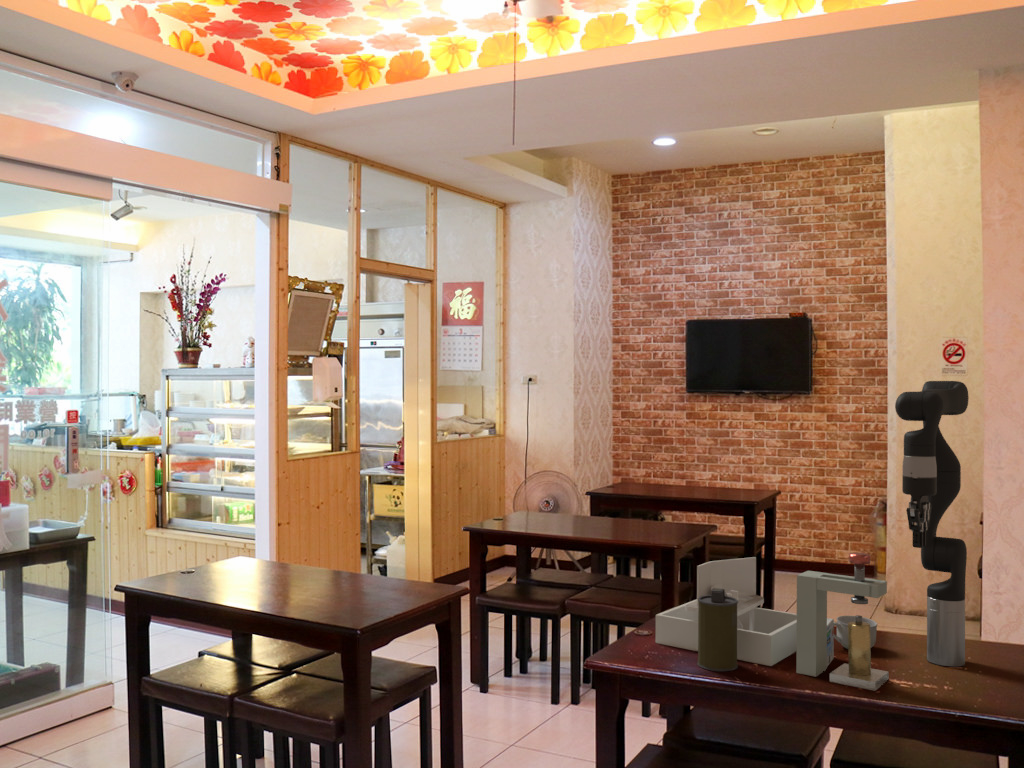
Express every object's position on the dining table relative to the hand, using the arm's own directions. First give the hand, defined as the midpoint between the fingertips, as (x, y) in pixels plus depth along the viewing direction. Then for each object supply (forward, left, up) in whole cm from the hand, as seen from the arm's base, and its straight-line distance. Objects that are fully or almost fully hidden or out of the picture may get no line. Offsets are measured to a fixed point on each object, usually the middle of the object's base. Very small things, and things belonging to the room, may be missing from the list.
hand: (919, 546), depth 217 cm
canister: (+11, -47, -35) cm, 60 cm away
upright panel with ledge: (-11, -54, -36) cm, 66 cm away
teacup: (-28, -25, -35) cm, 52 cm away
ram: (0, -14, -16) cm, 21 cm away
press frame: (0, -19, -35) cm, 40 cm away
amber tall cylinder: (0, -14, -33) cm, 36 cm away
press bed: (0, -14, -35) cm, 38 cm away
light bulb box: (-10, -28, -35) cm, 46 cm away
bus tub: (-11, -53, -35) cm, 64 cm away
